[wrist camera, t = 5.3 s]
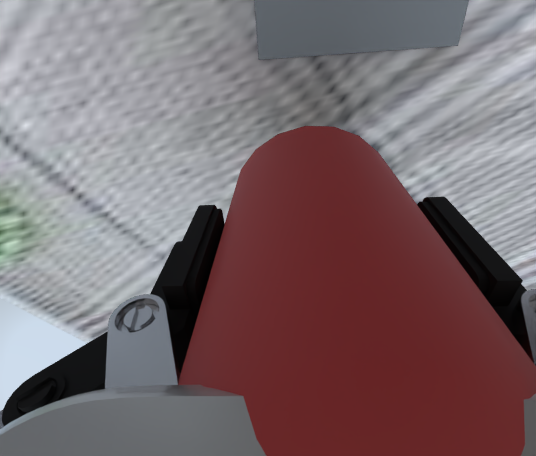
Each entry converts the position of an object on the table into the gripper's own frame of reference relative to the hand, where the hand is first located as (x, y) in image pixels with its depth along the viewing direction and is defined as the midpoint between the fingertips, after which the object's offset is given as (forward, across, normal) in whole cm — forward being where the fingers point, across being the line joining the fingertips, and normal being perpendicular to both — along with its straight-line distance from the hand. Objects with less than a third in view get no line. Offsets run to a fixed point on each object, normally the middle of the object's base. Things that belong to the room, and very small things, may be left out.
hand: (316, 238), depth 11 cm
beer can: (+3, 0, 0) cm, 3 cm away
